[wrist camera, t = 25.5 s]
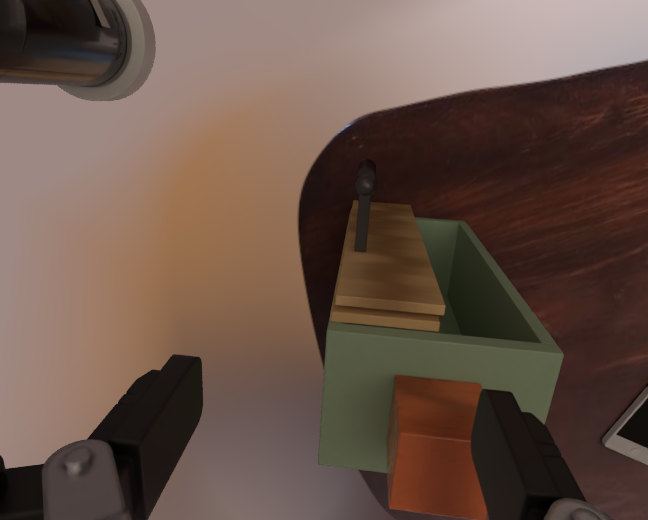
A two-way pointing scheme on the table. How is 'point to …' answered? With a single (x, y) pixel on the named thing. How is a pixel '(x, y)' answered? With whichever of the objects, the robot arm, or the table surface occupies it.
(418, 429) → the block
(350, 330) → the box
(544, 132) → the table surface
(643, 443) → the smartphone
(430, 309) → the door
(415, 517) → the table surface
